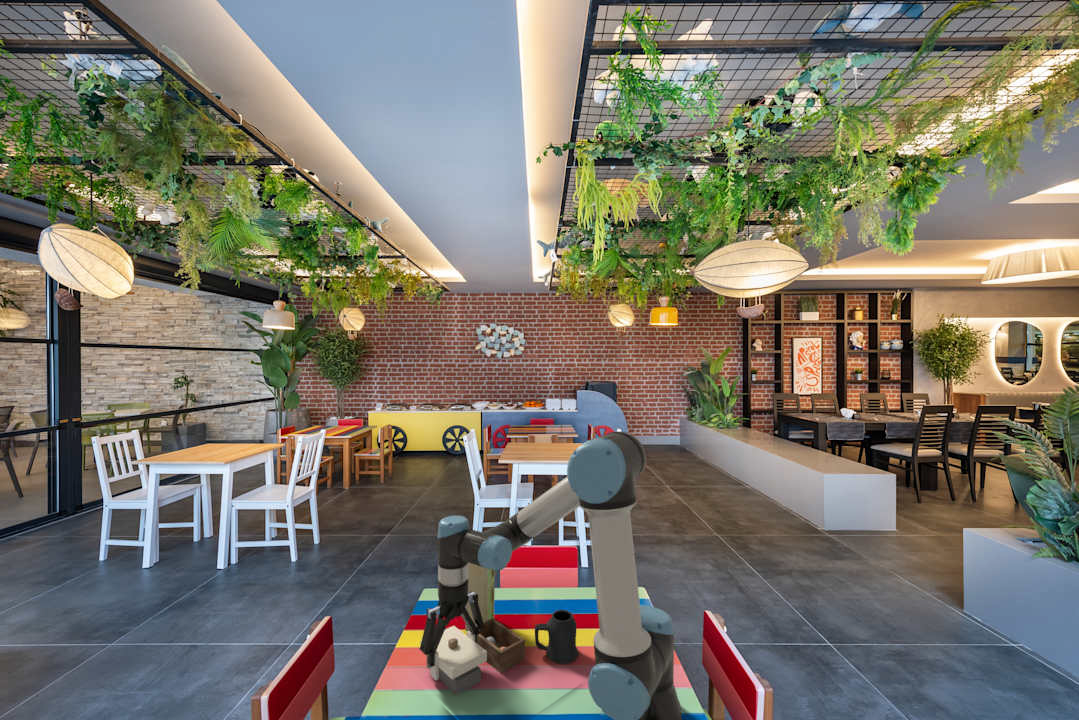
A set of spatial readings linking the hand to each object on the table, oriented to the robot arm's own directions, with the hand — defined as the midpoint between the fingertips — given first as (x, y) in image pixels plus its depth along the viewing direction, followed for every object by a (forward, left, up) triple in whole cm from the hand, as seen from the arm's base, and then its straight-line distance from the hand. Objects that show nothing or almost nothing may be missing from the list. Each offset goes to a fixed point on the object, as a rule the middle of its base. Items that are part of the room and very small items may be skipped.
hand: (453, 667), depth 120 cm
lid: (0, 0, +3) cm, 3 cm away
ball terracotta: (-4, -13, -2) cm, 14 cm away
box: (-1, -13, -2) cm, 13 cm away
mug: (-12, -25, -3) cm, 28 cm away
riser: (0, 0, -2) cm, 2 cm away
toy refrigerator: (+13, -18, -3) cm, 22 cm away
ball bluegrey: (+2, -13, -2) cm, 13 cm away
